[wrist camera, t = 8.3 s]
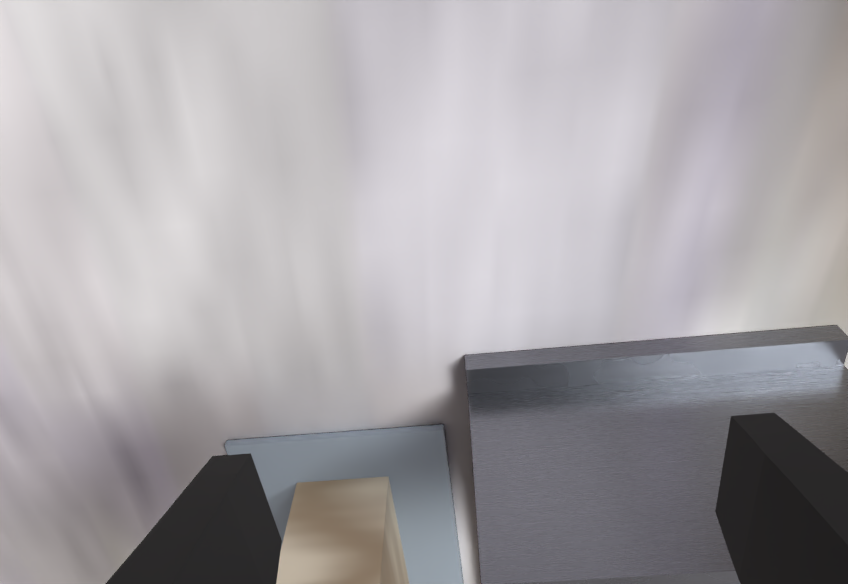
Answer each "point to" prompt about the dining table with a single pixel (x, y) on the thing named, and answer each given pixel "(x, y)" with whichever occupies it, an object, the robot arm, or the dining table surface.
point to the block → (342, 535)
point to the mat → (366, 458)
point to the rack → (633, 449)
